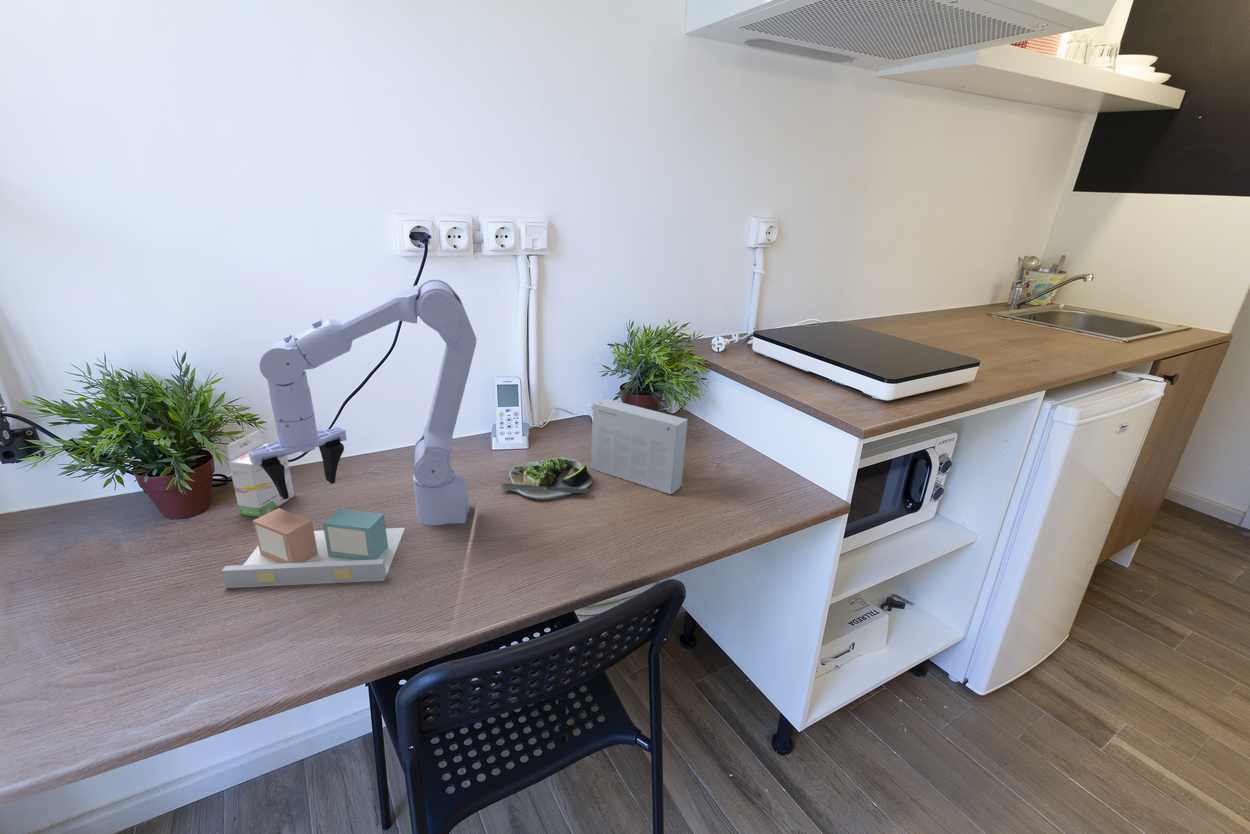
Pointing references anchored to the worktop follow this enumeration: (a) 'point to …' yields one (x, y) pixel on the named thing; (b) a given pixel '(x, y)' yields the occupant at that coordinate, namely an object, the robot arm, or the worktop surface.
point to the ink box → (255, 478)
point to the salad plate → (550, 479)
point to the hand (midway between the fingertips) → (308, 488)
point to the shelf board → (312, 567)
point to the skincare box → (638, 444)
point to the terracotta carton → (285, 537)
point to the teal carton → (355, 535)
